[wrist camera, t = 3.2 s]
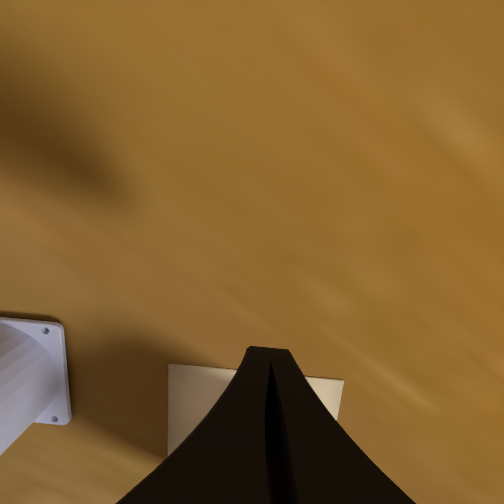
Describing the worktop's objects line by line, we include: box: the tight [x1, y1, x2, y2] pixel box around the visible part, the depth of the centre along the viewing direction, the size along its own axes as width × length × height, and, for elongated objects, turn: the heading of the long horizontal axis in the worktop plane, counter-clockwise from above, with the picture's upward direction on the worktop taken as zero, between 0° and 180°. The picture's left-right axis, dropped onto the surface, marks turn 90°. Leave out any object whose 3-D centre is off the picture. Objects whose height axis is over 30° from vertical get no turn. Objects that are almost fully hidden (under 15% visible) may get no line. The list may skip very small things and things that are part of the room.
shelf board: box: [168, 363, 344, 456], centre depth 21 cm, size 12×11×1 cm
